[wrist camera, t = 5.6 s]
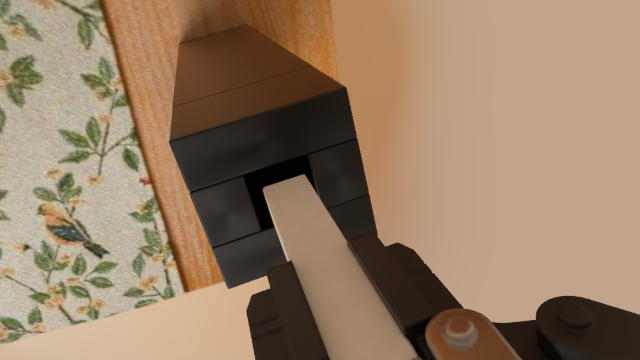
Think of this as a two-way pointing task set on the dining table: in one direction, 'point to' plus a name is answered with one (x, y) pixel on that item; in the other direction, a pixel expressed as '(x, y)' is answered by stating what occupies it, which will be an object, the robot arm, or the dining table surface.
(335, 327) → the grey square peg
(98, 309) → the dining table surface
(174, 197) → the dining table surface
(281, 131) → the holder
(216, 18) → the dining table surface
